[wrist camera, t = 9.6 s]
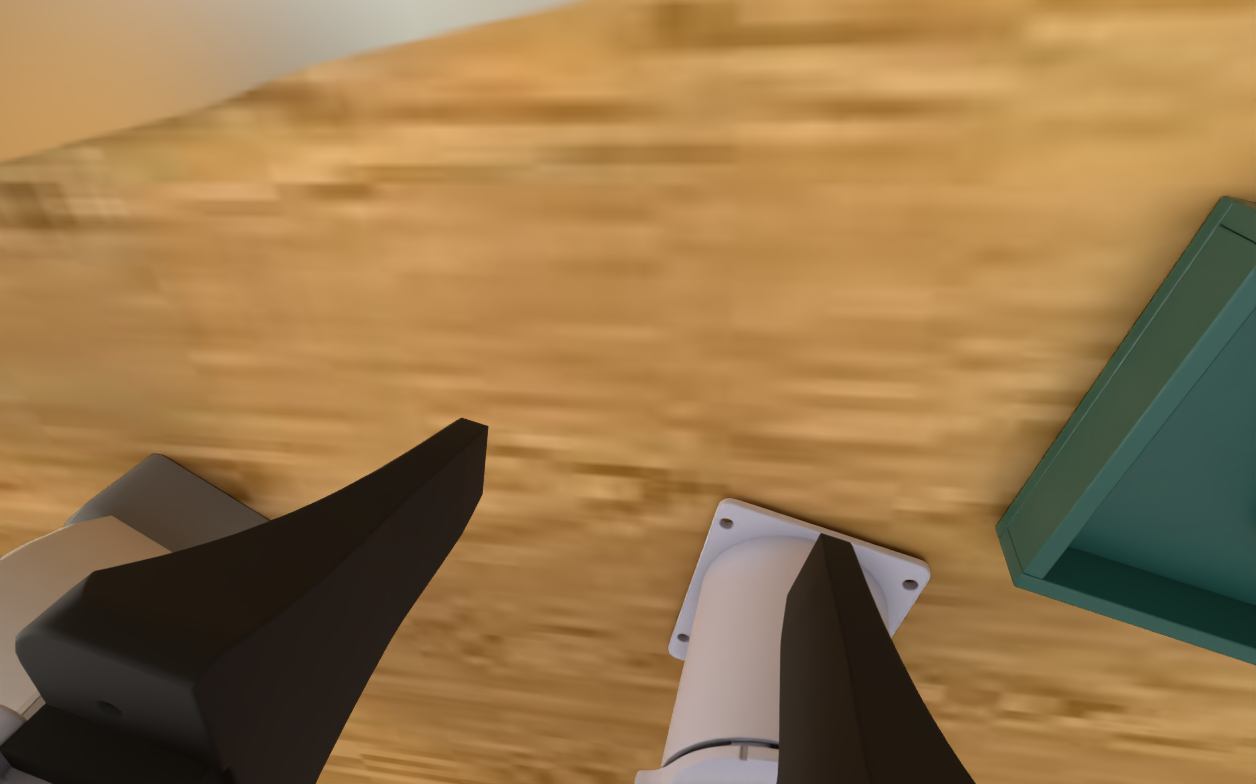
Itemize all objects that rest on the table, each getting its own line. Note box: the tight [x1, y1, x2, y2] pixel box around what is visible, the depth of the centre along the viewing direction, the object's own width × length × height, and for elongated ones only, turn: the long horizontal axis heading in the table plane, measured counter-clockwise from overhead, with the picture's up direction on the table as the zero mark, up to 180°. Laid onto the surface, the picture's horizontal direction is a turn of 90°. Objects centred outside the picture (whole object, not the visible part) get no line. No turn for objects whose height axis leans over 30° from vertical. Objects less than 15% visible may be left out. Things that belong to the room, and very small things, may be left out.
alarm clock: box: [0, 454, 269, 720], centre depth 29 cm, size 16×10×18 cm, turn 150°
